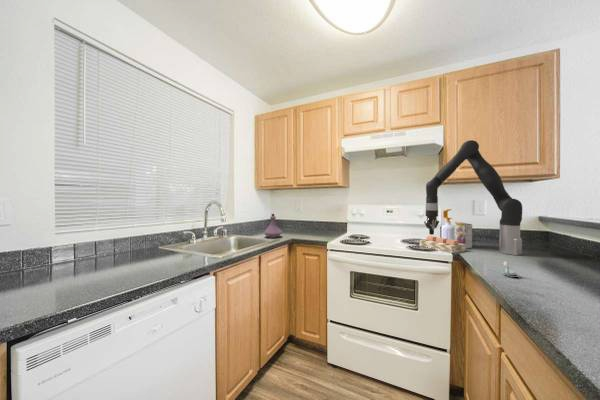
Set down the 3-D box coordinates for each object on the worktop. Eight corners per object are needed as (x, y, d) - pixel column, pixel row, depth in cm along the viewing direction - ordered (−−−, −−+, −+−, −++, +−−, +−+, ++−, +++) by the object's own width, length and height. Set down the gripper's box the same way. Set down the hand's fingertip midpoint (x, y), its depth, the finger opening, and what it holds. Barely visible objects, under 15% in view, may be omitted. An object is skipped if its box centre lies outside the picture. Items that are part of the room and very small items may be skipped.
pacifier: (518, 275, 99) (500, 272, 103) (519, 261, 99) (500, 258, 102) (521, 280, 93) (501, 276, 97) (522, 265, 93) (502, 262, 96)
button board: (465, 250, 143) (465, 243, 143) (451, 252, 138) (451, 245, 138) (432, 244, 163) (433, 238, 163) (419, 245, 158) (419, 239, 158)
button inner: (458, 245, 143) (458, 240, 143) (453, 246, 141) (453, 241, 141) (450, 244, 147) (450, 239, 147) (446, 244, 145) (446, 240, 145)
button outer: (437, 241, 156) (437, 237, 156) (432, 242, 154) (432, 237, 154) (430, 240, 160) (430, 236, 160) (426, 240, 158) (426, 236, 158)
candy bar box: (453, 244, 161) (453, 222, 161) (460, 244, 161) (461, 222, 160) (465, 248, 150) (465, 223, 149) (472, 248, 150) (472, 223, 149)
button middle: (447, 243, 149) (447, 238, 149) (442, 243, 147) (442, 239, 147) (440, 242, 154) (440, 237, 154) (435, 242, 152) (435, 238, 152)
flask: (286, 236, 197) (286, 213, 197) (274, 239, 183) (274, 214, 183) (271, 234, 206) (271, 213, 205) (259, 237, 192) (259, 214, 191)
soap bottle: (448, 241, 173) (449, 209, 172) (438, 239, 181) (438, 209, 181) (458, 241, 175) (458, 209, 175) (447, 238, 184) (447, 208, 183)
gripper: (430, 210, 151) (430, 236, 151) (443, 209, 156) (443, 234, 156) (420, 209, 157) (420, 234, 158) (433, 209, 163) (432, 233, 163)
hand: (431, 234), depth 157 cm, fingers closed
